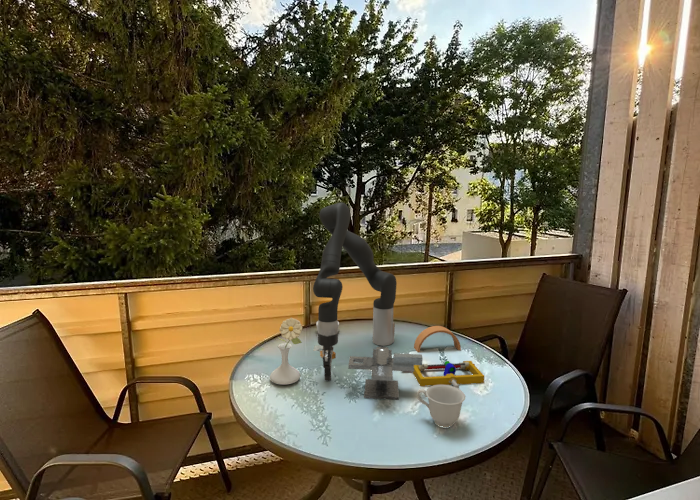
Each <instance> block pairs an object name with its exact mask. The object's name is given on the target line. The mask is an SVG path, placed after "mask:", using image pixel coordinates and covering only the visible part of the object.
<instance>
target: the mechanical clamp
mask: <svg viewBox="0 0 700 500" xmlns="http://www.w3.org/2000/svg"><path fill="white" fill-rule="evenodd" d="M457 369H459V370H464V372H465V371H469V372H470V374H456V372H457ZM426 370H444V371H443V374H442V375H435V376H423V373H422V372H425V371H426ZM472 374H473V375H472ZM412 375H413V376H414V378H415V377H416V378H415V379H417V380H416V381H417V383H418V385H419V384H420V385H419V386H420V387H426V386H425V385H450V386H453V387H456V388H458V389H460V385H472V384H471V383H476V384H485V375H484V374H483V373H482V372H481V370H480V369H479V368H478V367H477V365H476V363H474V362H473V361H472V360H463V361H462V362H459V363H452V362H451V361H448V360H446V361H444V363H443V364H442V363H440V364H428V363H422V365H414V372H413V373H412ZM452 384H453V385H452Z"/></svg>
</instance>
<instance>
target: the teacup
mask: <svg viewBox="0 0 700 500" xmlns="http://www.w3.org/2000/svg"><path fill="white" fill-rule="evenodd" d="M421 393H422V394H423V395H424V398H428V401H426V400H424V399H423V398H422V397H421V395H420V394H421ZM416 397H417V400H418V401H419V403H421V404H423V405H424V406H425V407H427V409H428V411H429V415H430V417H431V418H432V420H433V421H434V424H435V423H436V424H437V425H439V426H443V427H449V426H452V425H453V426H454V424H455V423H456V422H458V420H459V418H460V415H461V411H462V407H463V406H462V405H463V403H464V401H465V400H466V394H465V392H464V391H463V390H461V389H460V388H456V387H454V386H453V385H433V386H428V388H426V389H424V388H420V389H418V390H417V393H416ZM436 424H435V425H436ZM437 425H436V426H437ZM439 426H438V427H439ZM453 426H452V427H453Z"/></svg>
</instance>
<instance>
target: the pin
mask: <svg viewBox="0 0 700 500" xmlns="http://www.w3.org/2000/svg"><path fill="white" fill-rule="evenodd" d="M336 355H337V354H336V352H335V351H334V350H333V354H332V360H333V359H334V360H335V359H336V357H337V356H336ZM319 356H320V358H321V359H323V354H322V351H319ZM330 359H331V354H330ZM324 381H325V382H330V381H332V374H331V375H330V377H325V376H324Z"/></svg>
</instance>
